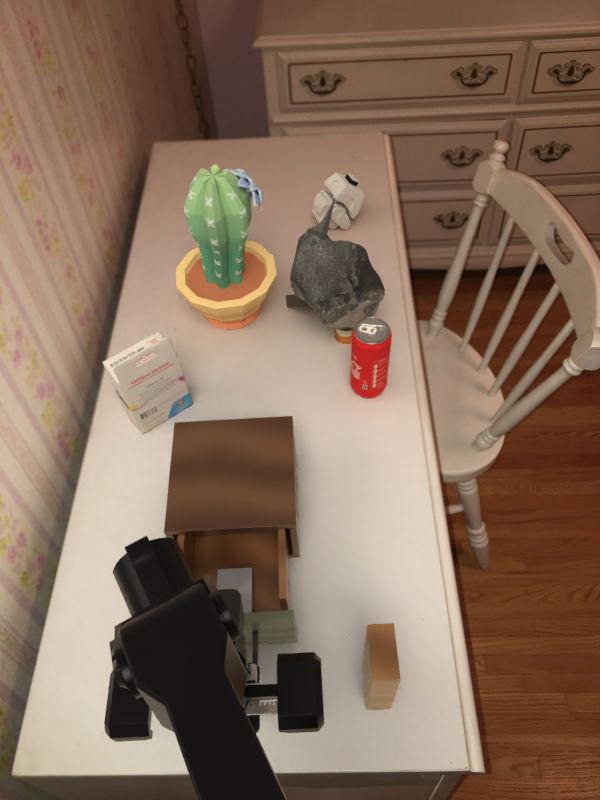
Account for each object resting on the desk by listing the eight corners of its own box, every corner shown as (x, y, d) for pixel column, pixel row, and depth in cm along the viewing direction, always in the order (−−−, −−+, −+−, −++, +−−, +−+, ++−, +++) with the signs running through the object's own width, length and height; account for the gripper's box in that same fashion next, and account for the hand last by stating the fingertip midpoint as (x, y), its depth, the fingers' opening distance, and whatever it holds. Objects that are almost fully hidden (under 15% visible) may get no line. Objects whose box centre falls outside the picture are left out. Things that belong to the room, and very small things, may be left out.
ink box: (176, 383, 95) (152, 313, 83) (193, 404, 92) (172, 336, 80) (125, 413, 92) (93, 345, 80) (141, 436, 89) (111, 369, 77)
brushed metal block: (254, 627, 71) (251, 620, 69) (218, 629, 71) (214, 622, 69) (254, 575, 75) (252, 567, 73) (220, 577, 75) (217, 568, 73)
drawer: (298, 689, 68) (295, 672, 62) (173, 695, 69) (158, 679, 63) (293, 529, 79) (290, 501, 73) (185, 534, 79) (173, 508, 73)
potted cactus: (273, 348, 98) (256, 213, 77) (174, 342, 99) (133, 208, 79) (287, 277, 107) (275, 139, 86) (196, 272, 108) (163, 136, 88)
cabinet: (300, 557, 78) (296, 525, 71) (180, 563, 78) (163, 532, 71) (296, 454, 87) (292, 415, 79) (188, 459, 87) (174, 422, 79)
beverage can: (381, 404, 91) (386, 349, 81) (345, 395, 92) (346, 340, 82) (390, 376, 93) (396, 319, 84) (355, 368, 95) (357, 311, 85)
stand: (390, 708, 68) (400, 679, 57) (366, 710, 68) (372, 681, 57) (385, 659, 71) (393, 622, 60) (362, 660, 71) (367, 624, 60)
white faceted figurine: (340, 240, 114) (375, 193, 109) (313, 229, 110) (348, 180, 105) (326, 220, 117) (360, 175, 112) (300, 209, 113) (333, 161, 108)
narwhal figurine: (292, 368, 95) (284, 279, 81) (285, 295, 104) (277, 202, 90) (388, 359, 95) (397, 268, 81) (373, 287, 104) (379, 193, 90)
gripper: (315, 571, 55) (319, 625, 68) (99, 582, 56) (143, 634, 68) (323, 713, 49) (325, 744, 61) (78, 725, 49) (131, 753, 62)
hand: (229, 713), depth 63 cm, fingers closed
